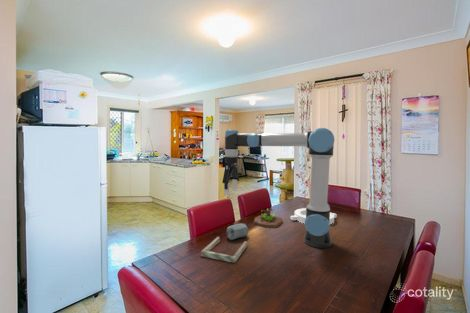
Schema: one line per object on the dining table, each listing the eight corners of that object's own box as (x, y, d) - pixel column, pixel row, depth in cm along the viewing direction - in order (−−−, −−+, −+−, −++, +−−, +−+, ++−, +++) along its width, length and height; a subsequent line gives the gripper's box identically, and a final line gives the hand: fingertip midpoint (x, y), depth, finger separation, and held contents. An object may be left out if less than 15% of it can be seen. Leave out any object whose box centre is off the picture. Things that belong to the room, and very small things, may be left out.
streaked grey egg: (231, 238, 137) (231, 220, 141) (223, 240, 144) (223, 223, 149) (251, 240, 143) (251, 222, 147) (243, 242, 150) (243, 225, 155)
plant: (250, 225, 168) (250, 209, 167) (258, 217, 186) (258, 202, 185) (279, 229, 160) (279, 213, 160) (284, 220, 178) (285, 205, 178)
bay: (247, 246, 135) (247, 241, 134) (234, 262, 116) (234, 257, 116) (217, 241, 141) (217, 236, 141) (201, 256, 123) (201, 251, 122)
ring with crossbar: (337, 218, 186) (337, 212, 185) (329, 229, 162) (329, 222, 162) (300, 211, 201) (301, 206, 200) (288, 221, 177) (289, 215, 177)
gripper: (232, 154, 155) (232, 187, 157) (216, 157, 132) (216, 196, 134) (243, 155, 153) (243, 188, 155) (229, 158, 130) (229, 197, 131)
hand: (230, 192), depth 144 cm, fingers open, 13 cm apart
